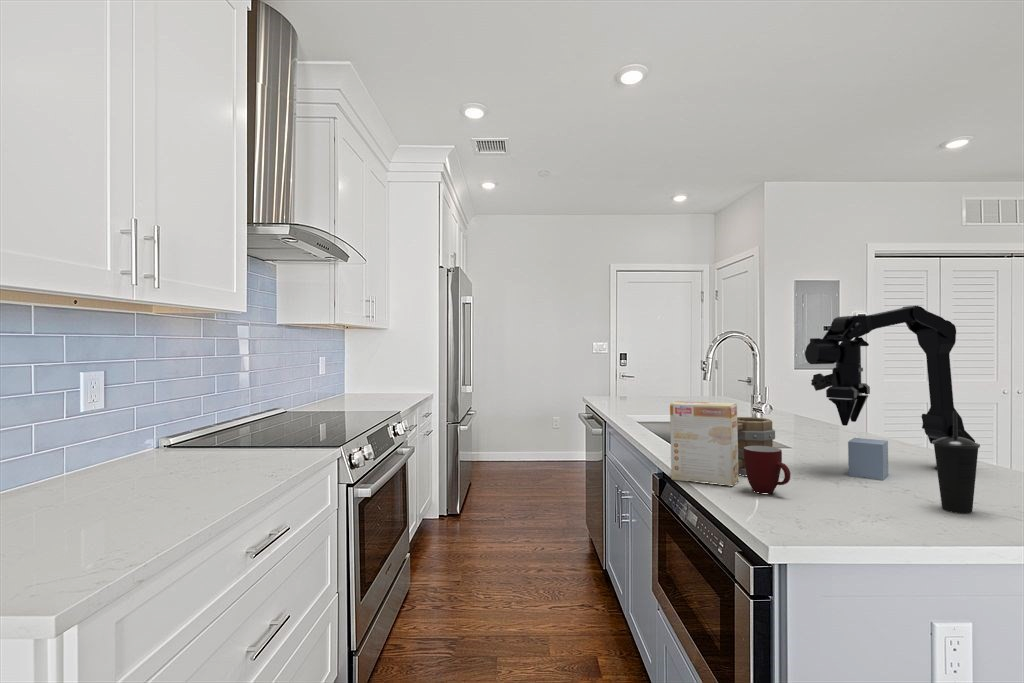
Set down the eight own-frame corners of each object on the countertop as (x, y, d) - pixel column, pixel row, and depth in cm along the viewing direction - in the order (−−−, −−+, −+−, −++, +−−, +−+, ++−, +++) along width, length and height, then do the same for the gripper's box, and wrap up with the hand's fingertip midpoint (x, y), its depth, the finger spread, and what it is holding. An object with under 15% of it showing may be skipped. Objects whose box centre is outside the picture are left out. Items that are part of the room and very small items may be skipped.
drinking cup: (963, 505, 118) (962, 409, 118) (991, 516, 110) (989, 413, 110) (924, 504, 118) (923, 409, 118) (949, 515, 111) (947, 413, 111)
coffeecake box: (739, 481, 140) (737, 402, 140) (732, 487, 134) (731, 405, 134) (679, 474, 148) (677, 400, 148) (670, 480, 142) (669, 403, 142)
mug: (800, 494, 127) (799, 450, 127) (783, 501, 122) (782, 455, 122) (755, 486, 135) (754, 444, 135) (737, 491, 130) (736, 448, 130)
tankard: (744, 464, 159) (743, 411, 159) (786, 472, 149) (786, 416, 149) (697, 473, 148) (697, 416, 148) (740, 483, 138) (739, 421, 138)
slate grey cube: (854, 470, 150) (854, 437, 150) (888, 474, 145) (887, 440, 145) (848, 475, 144) (848, 441, 144) (883, 480, 139) (882, 444, 139)
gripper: (824, 362, 160) (825, 417, 160) (803, 364, 146) (804, 424, 146) (869, 362, 152) (870, 420, 152) (852, 365, 139) (854, 428, 139)
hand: (849, 423), depth 147 cm, fingers open, 9 cm apart
